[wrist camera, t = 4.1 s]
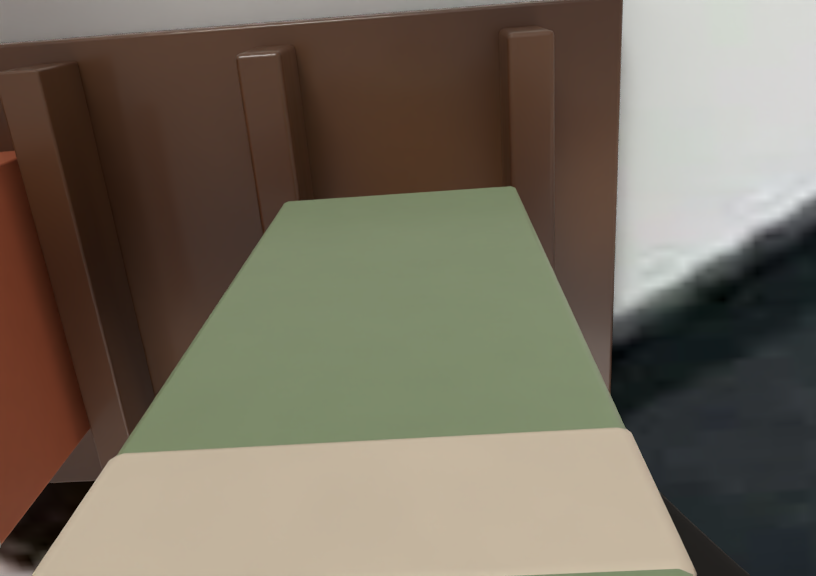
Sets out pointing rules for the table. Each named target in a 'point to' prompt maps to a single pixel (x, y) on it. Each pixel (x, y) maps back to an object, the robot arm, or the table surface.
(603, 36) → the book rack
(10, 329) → the terracotta book
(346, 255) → the green book
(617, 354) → the table surface
